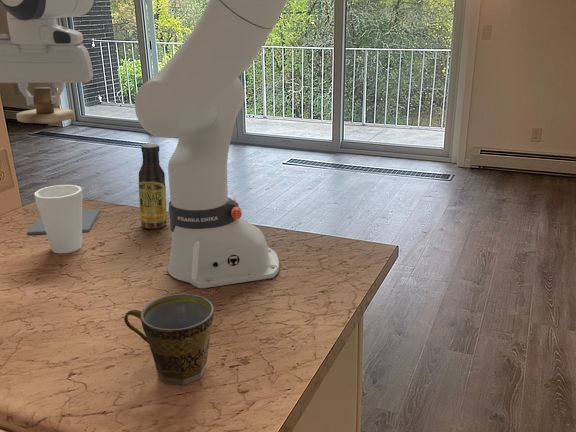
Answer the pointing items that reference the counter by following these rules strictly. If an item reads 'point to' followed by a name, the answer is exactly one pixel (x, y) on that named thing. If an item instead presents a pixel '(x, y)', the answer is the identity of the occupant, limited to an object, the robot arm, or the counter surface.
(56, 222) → the foam cup
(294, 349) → the counter surface
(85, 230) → the mat
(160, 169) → the sauce bottle
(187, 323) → the ceramic cup
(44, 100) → the lid
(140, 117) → the robot arm
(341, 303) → the counter surface
